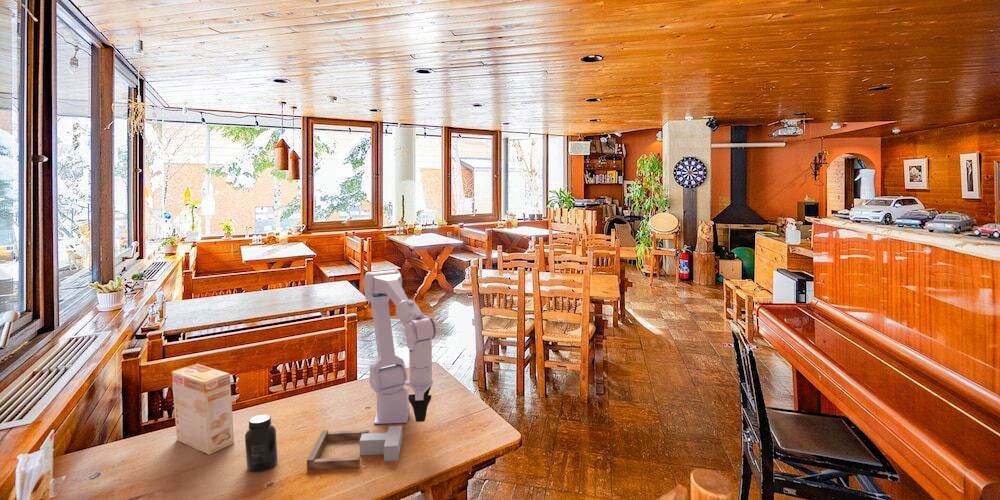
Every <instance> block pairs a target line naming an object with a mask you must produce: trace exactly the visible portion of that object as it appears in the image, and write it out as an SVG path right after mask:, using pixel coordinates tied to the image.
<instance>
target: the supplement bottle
mask: <svg viewBox="0 0 1000 500" xmlns="http://www.w3.org/2000/svg"><path fill="white" fill-rule="evenodd" d="M244 440H245V441H244V443H245V456H246V459H245V460H246V468H247V469H248V471H249V472H254V473H260V472H265V471H267V470H271V469H272V468H273V467H275V465H277V463H278V441H277V429H276V427H275V426H274V425H272V416H271V415H269V414H264V413H263V414H258V415H254V416H252V417H251V418H249V419H248V430H246V433H245V434H244Z"/></svg>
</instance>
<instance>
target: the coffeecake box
mask: <svg viewBox="0 0 1000 500" xmlns="http://www.w3.org/2000/svg"><path fill="white" fill-rule="evenodd" d="M170 373H171V382H172V384H171V385H172V395H173V407H174V419H175V433H176V434H175V435H176V440H177V441H178V442H180V443H182V444H184V445H187V446H189V447H190V448H191V447H192V448H194V449H195V450H197V451H200V452H202V453H204V454H206V455H208V456H209V455H212V454H214V453H216V452H218V451H220V450H222V449H225V448H227V447H229V446H232V445H233V444H235V437H234V436H235V435H234V419H233V406H232V403H233V401H232V389H231V388H232V387H231V373H229V372H225V371H222V370H218V369H216V368H212V367H208V366H206V365H203V364H199V363H195V364H192V365H188V366H185V367H182V368H179V369H175V370H172V371H171V372H170Z"/></svg>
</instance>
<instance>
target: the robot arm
mask: <svg viewBox="0 0 1000 500" xmlns="http://www.w3.org/2000/svg"><path fill="white" fill-rule="evenodd" d="M362 285H363V292H364V298H365V300H366V301H367V302H370V305H371V312H372V319H373V326H374V327H373V328H374V336H375V342H376V343H375V344H376V353H377V358H376V359H375V360H374V361H373V362H372V363H371V364H370V366H369V383H370V387H371V389H372V390H373V391H374V392H376V396H375V397H376V414H375V418H374V421H373V424H374V425H382V424H384V425H385V424H403V423H405V424H406V423H408V419H409V413H410V404H411V407H412V410H413V415H414V418H415V422H417V423H420V422H421V423H423V422H425V421H426V417H427V410H428V406H429V404H430V402H431V401H432V394H429V393H430V392H431V391H430V390H431V387H432V386H433V384H434V380H433V354H432V352H433V351H432V350H433V348H432V347H433V344H432V343H433V342H432V341H433V339H435V338H436V336H437V335H436V334H437V326H436V322H435V320H434V319H433V317H431V316H428V315H427V314H426V315H424V313H423V312H422V310H421V309H420V307H419V306H418V305H417V303H416V302H415V301H414V300H413V299H409V298H408V296H407V294H406V293H405V290H404V288H403V278H402V274H401V272H400V271H399V269H395V268H394V269H389V270H381V271H380V270H378V271H367V272H366V273H365V274H364V276H363V281H362ZM390 300H391V302H392V303H393V304H394V306H395V307H396V308H395V314H396V315H397V317H398V318H399V321H400V322H401V324H402V325H403V327H404V335H405V339H406V347H407V348H408V351H409V352H408V353H409V354H408V356H409V357H408V360H409V361H408V365H409V370H407V367H406V364H405V361H404V359H402V358H401V357H400V356H397V355H396V354H395V343H394V338H393V337H394V336H393V330H392V329H393V328H392V322H391V316H390V315H391V314H390V306H389V301H390ZM408 371H409V379H408ZM404 385H405V386H409V387H410V388H411V390H412V392H413V393H414V394H410V391H409V388H408V387H404Z"/></svg>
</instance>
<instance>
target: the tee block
mask: <svg viewBox="0 0 1000 500" xmlns="http://www.w3.org/2000/svg"><path fill="white" fill-rule="evenodd" d="M402 443H403V426H402V425H391V426H388V428H387V432H369V433H366V434H362V435H361V438H360V440H359V456H373V455H375V456H376V455H383V461H384V462H394V461H396V462H397V461H399V460H400V454H401V449H402Z"/></svg>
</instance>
